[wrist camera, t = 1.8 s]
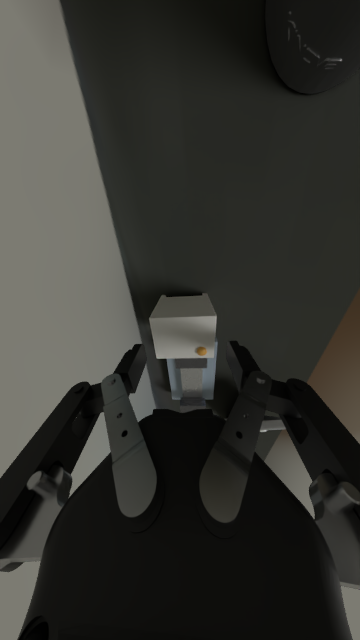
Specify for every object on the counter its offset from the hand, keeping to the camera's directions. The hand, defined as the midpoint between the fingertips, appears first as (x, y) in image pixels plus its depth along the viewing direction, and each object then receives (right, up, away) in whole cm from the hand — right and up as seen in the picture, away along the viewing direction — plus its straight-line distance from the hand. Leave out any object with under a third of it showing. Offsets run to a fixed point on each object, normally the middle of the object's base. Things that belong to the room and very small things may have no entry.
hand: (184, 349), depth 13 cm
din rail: (+2, -7, +11) cm, 13 cm away
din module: (0, +4, +7) cm, 8 cm away
